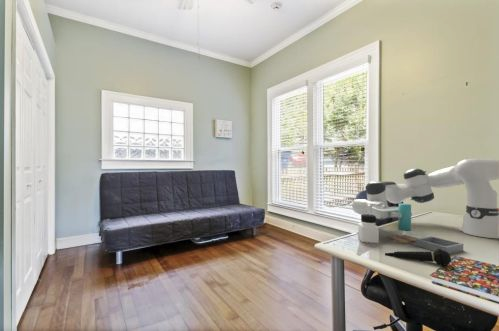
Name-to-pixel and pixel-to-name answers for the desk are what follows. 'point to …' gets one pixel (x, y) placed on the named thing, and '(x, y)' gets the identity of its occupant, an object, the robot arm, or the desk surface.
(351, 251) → the desk surface
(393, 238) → the mat
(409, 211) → the canister
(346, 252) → the desk surface
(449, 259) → the microphone
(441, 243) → the caddy
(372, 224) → the medicine bottle
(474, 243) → the desk surface
